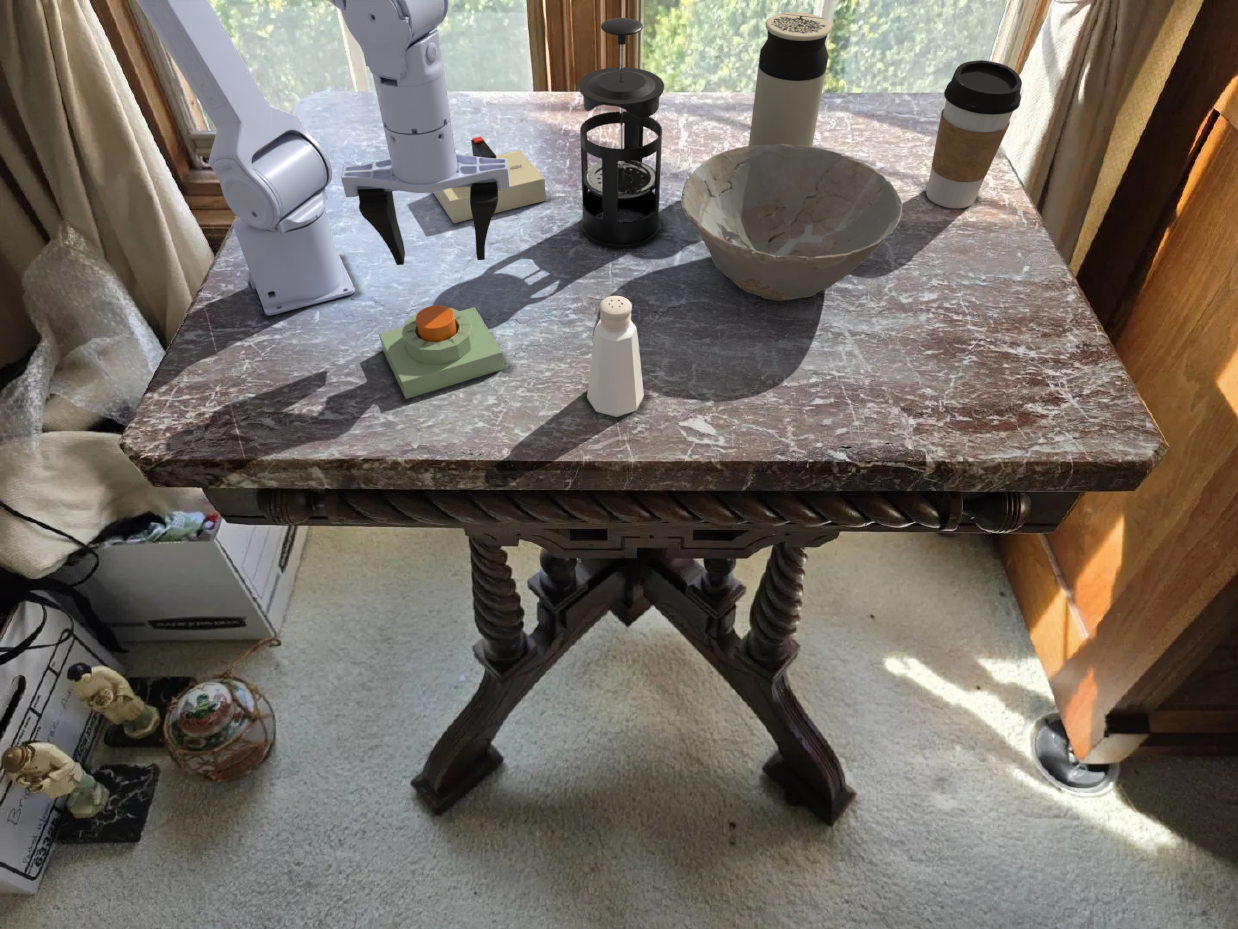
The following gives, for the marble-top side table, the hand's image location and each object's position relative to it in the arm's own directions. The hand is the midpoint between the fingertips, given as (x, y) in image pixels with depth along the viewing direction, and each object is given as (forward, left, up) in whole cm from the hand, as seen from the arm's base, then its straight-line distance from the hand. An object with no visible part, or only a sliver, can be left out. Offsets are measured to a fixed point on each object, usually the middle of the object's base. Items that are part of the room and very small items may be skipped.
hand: (441, 256), depth 82 cm
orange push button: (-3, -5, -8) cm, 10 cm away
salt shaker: (+10, -17, -9) cm, 22 cm away
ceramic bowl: (+35, -7, -9) cm, 37 cm away
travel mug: (+48, +13, -9) cm, 51 cm away
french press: (+24, +10, -9) cm, 28 cm away
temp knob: (+12, +23, -5) cm, 27 cm away
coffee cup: (+64, -2, -9) cm, 65 cm away
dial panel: (+12, +23, -8) cm, 27 cm away
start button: (-3, -5, -5) cm, 7 cm away
